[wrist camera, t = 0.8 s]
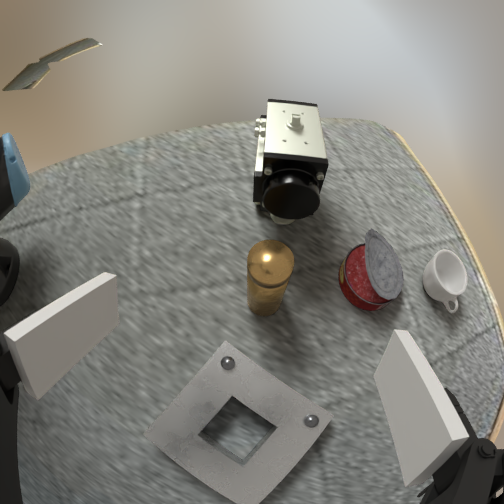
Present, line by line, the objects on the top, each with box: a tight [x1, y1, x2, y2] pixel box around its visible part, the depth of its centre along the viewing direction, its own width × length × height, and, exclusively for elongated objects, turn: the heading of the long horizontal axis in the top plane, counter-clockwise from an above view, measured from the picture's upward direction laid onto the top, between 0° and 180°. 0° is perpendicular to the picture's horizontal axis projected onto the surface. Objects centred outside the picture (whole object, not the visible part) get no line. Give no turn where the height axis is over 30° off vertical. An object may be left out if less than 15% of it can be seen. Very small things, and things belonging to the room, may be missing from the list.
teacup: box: [423, 249, 467, 313], centre depth 36 cm, size 10×8×5 cm
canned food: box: [339, 229, 404, 311], centre depth 37 cm, size 11×10×10 cm
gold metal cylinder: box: [247, 240, 294, 316], centre depth 32 cm, size 5×5×12 cm
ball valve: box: [253, 99, 328, 225], centre depth 38 cm, size 18×8×18 cm, turn 175°
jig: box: [143, 340, 334, 504], centre depth 27 cm, size 16×16×4 cm
